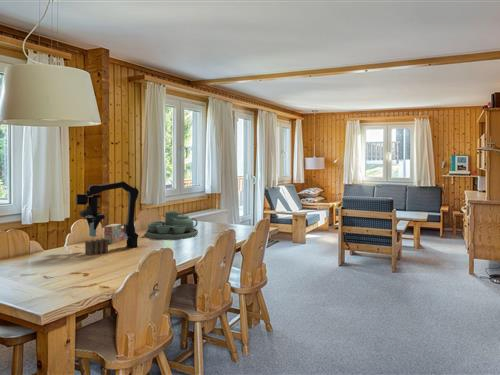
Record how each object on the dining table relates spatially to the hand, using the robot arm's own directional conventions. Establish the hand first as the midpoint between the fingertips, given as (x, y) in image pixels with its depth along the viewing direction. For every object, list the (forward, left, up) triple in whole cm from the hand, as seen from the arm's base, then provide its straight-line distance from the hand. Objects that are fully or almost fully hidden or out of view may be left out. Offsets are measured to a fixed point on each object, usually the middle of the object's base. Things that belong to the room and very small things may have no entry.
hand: (92, 229), depth 274 cm
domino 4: (-7, +6, -14) cm, 16 cm away
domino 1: (+2, +12, -14) cm, 18 cm away
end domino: (0, 0, -5) cm, 4 cm away
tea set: (-56, -47, -14) cm, 74 cm away
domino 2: (-1, +10, -14) cm, 17 cm away
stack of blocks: (-15, -29, -14) cm, 35 cm away
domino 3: (-4, +8, -14) cm, 16 cm away
